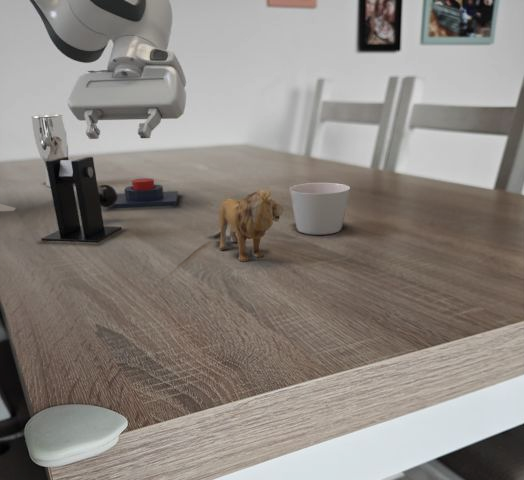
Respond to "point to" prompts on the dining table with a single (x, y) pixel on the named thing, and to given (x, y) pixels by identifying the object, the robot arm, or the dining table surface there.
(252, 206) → the lion figurine
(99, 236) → the bracket
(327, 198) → the white ramekin
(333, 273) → the dining table surface
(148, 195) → the button box
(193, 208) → the dining table surface
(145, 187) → the button
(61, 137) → the beer glass
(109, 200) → the lever
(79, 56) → the robot arm
